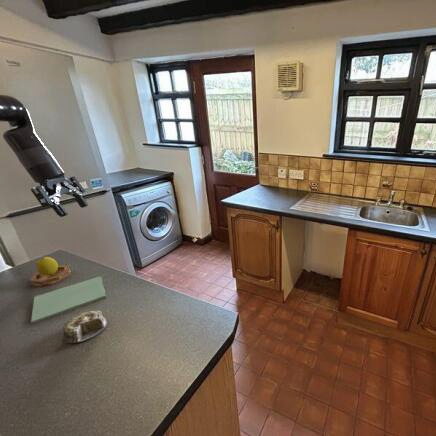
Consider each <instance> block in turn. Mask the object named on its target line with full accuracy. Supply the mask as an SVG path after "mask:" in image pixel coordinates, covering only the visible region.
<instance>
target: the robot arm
mask: <svg viewBox="0 0 436 436" xmlns="http://www.w3.org/2000/svg"><path fill="white" fill-rule="evenodd" d="M1 122H6V123H8V125H9V128H10V129H7V130H5V131H4V132H3V133H2V138H3V140H4V141H5V143H6V144H7V145H8V146H9V148H10V149H11V151H12V152H13V153H14V155H15V157H16V158H17V160H18V161H19V163H20V164H21V165H22V167H23V168H24V169H25V171H26V172H27V173H28V175H29V176H30V177H31V178H32V180H33V181H34V182H35V183H36V184H39V185H37V186H34V187H31V188H30V191H31V193H32V194H33V196H34V197H35V199H36V200H37V202H38V203H39V205H40V206H41V207H43V208H46V207H50V208H51V209H52V210H53V211H54V212H55V214H56V215H57V216H58V217H60V218H63V217H66V216H68V215H69V214H68V212H67V210H66V209H65V207H63V205H62V204H61V203H60V198H61V196H62V195H67V196H71V197H72V198H73V199H74V200H75V201H76V203H77V204H78V206H79V207H80V208H81V209H83V208H86V207H88V206H89V205H88V201H87V200H86V199H85V197H84V196H83V194H85V193H86V190H85V189H84V187H83V186H82V184H81V183H80V182H79V180H78V179H77V178H76V176H70V177H68V178H66V176H65V174H66V172H65V171H64V170H63V168H62V167H61V165H60V164H59V162H58V161H57V159H56V158H55V156H54V155H53V154H52V152H51V151H50V150H49V149H48V148H47V147H46V145H45V144H44V143H43V141H42V140H41V138H40V137H39V135H38V134H37V133H36V130H35V127H34V124H33V121H32V118H31V116H30V112H29V111H28V108H27V107H26V106H25V104H23V103H22V102H21V101H20V100H19V99H17V98H16V97H14V96H12V95H7V94H0V123H1Z"/></svg>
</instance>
